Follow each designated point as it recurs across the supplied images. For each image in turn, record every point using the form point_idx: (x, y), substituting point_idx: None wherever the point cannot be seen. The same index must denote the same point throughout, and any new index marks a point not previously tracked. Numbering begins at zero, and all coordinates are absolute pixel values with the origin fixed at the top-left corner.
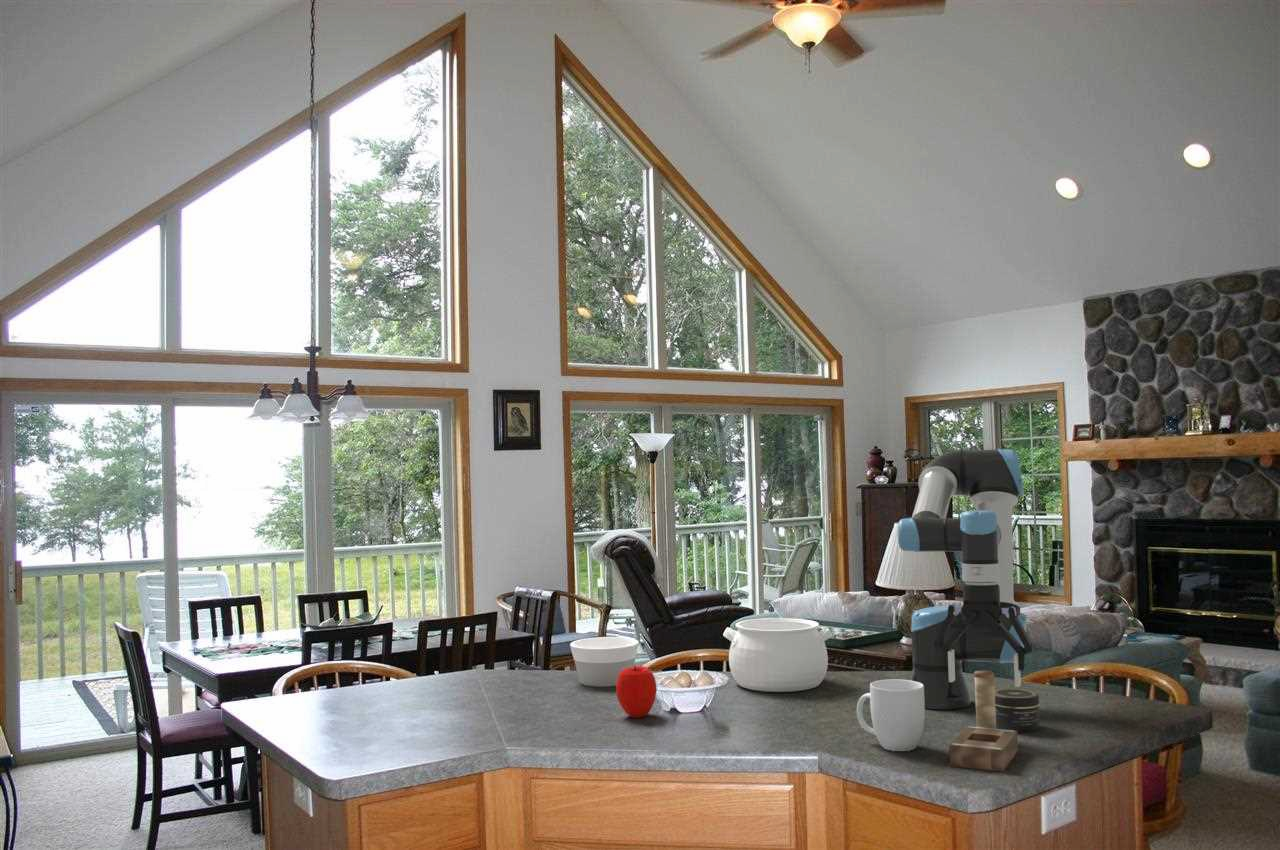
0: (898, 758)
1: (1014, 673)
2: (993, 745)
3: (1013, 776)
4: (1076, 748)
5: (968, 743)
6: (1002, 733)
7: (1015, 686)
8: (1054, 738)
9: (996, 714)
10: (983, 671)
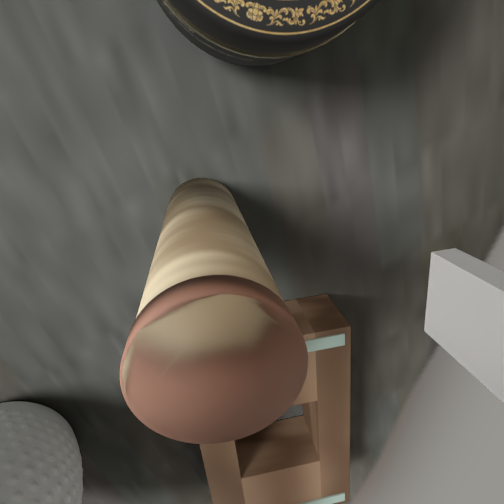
0: (84, 499)
1: (494, 394)
2: (321, 482)
3: (354, 465)
4: (476, 181)
5: (258, 501)
6: (315, 376)
7: (429, 332)
8: (410, 82)
9: (185, 31)
10: (195, 341)
